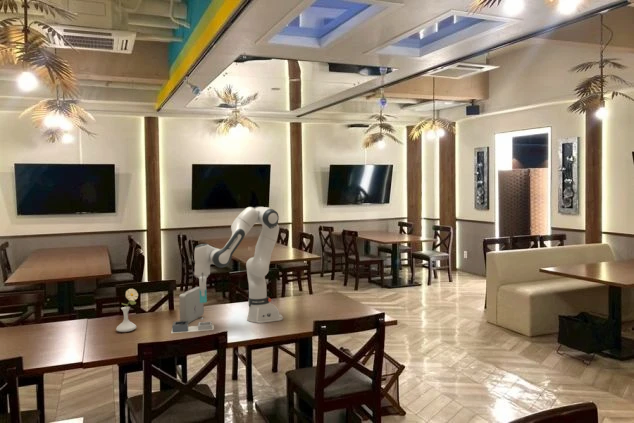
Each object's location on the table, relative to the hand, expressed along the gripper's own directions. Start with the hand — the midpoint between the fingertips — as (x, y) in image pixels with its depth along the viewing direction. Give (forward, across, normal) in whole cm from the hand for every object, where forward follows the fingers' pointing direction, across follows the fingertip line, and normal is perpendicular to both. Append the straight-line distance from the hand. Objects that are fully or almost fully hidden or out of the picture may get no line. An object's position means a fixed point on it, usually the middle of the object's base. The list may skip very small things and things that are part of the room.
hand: (203, 294), depth 289 cm
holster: (+20, 0, -1) cm, 20 cm away
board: (+21, 0, +6) cm, 22 cm away
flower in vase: (+22, +13, +44) cm, 51 cm away
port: (+20, 0, +13) cm, 24 cm away
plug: (+4, 0, 0) cm, 4 cm away
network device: (+22, +21, +7) cm, 31 cm away
